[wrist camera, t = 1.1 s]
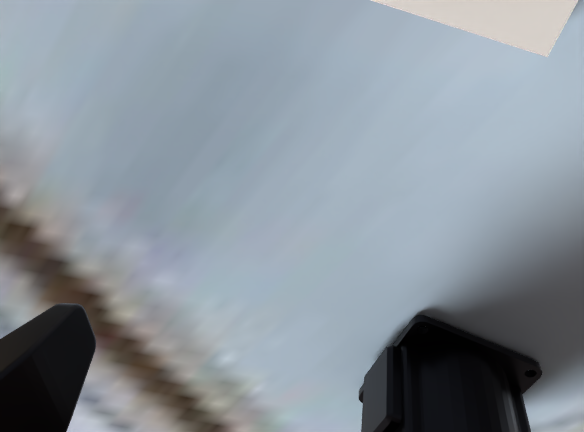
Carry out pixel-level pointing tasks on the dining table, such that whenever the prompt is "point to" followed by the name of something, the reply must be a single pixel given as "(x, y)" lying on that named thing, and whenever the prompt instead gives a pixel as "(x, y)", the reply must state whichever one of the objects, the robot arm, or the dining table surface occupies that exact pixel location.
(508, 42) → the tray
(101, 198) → the dining table surface
